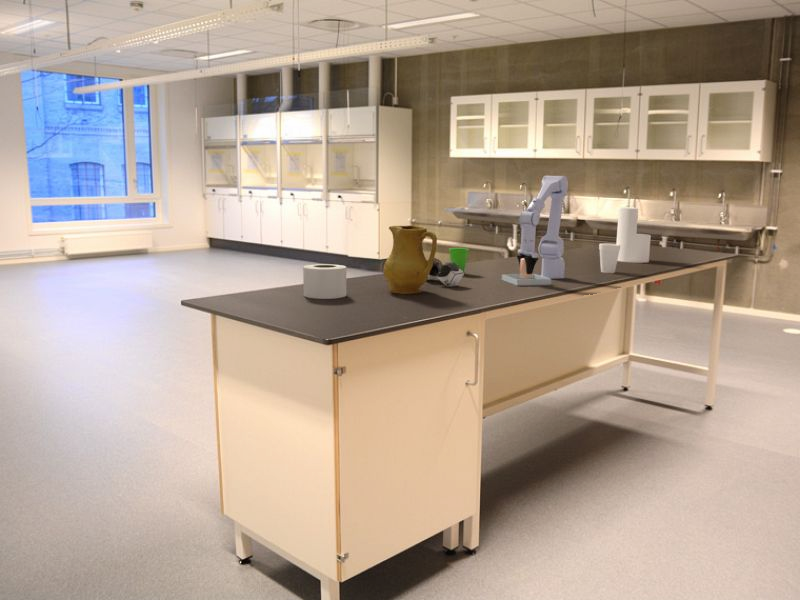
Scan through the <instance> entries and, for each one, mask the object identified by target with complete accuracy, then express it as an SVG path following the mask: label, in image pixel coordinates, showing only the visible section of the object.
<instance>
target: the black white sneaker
mask: <svg viewBox="0 0 800 600" xmlns="http://www.w3.org/2000/svg"><path fill="white" fill-rule="evenodd" d="M426 260H427V262H428V261H429V259H426ZM464 275H465V270H464V271H462V270H461V269H460V268H459V266H457V265H456V264H455V263H454V262H451V261H449V262H444V263H442V261H441V260H440V259H439V258H435V257H434V262H433V266H432V269H431V270H430V273H429V276H428V279H427V280H426V281H433V280H434V281H435V280H436V279H437V280H439V281H440V282H441V283H442V284H443V285H444V286H445V287H447V288H452V287H455V286H459V283H460V282H461V280H462V279H463V277H464Z"/></svg>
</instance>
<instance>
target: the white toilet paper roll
mask: <svg viewBox="0 0 800 600" xmlns="http://www.w3.org/2000/svg"><path fill="white" fill-rule="evenodd" d="M302 271H303V276H302V279H303V282H302V283H303V285H302V286H303V297H305V298H309V299H315V300H316V299H318V300H332V299H333V300H334V299H342V298H345V297H346V296H347V266H346V265H341V264H331V263H322V264H321V263H319V264H315V263H314V264H307V265H303V269H302Z"/></svg>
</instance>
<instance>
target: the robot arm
mask: <svg viewBox="0 0 800 600" xmlns="http://www.w3.org/2000/svg"><path fill="white" fill-rule="evenodd" d="M568 189H569V180H568V177H567V176H566V175H544V176H543V178H542V180H541V188H540V190H539V192H538V195H537V196H536V197H535V198H533V199H532V200H531V201H530V203H529V205H528V207H527V208H526V210H524V211H522V212H521V213H520V215H519V224H520V226H519V227H520V229H521V232H520V233H521V237H520V248H518V249H517V254H518V255H517V254H516V259H517V261H518V264H519V266H520V262H521V258H524V259H525V262H526V271H527V274H532V273H533V274H534V269H535V266H536V263H537V262H538V260H539V257H538V254H539V255H540V257H541V272H540V273H541V274H539V275H540V276H543V277H546V278H549V279H551V280H552V279H565V278H566V277H565V266H566V264H565V259H564V258H563V257H562V256H563V255H564V250H565V244H564V242H565V241H564V240H563V238H562V237H561V236H559V234H560V227H561V221H562V220H561V219H562V214H563V206H564V199H565V197H566V196H567V193H568ZM549 197H550V198H551V201H550V209H549V217H548V223H547V230H546V234H545V235H544V236H542V237H541V238H540V242H539V244H538V249H537V251H538V252H536V232H537V231H536V229H537V225H538V224H539V222H540V218H541V213H542V211H543V210H544V208H545V206H546V204H545V202H546V200H547V199H548V198H549Z"/></svg>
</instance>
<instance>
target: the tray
mask: <svg viewBox="0 0 800 600" xmlns="http://www.w3.org/2000/svg"><path fill="white" fill-rule="evenodd" d="M540 275H541V274H536V273H533V275H532V279H522V278H520V273H518V274H517V273H515V274H514V273H513V274H510V273H509V274H501V281H502V282H505V283H508V284H511V285H514V286H517V287H520V286H521V287H522V286H524V287H525V286H527V287H528V286H552V279H549V278H546V277H543V276H540Z"/></svg>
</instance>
